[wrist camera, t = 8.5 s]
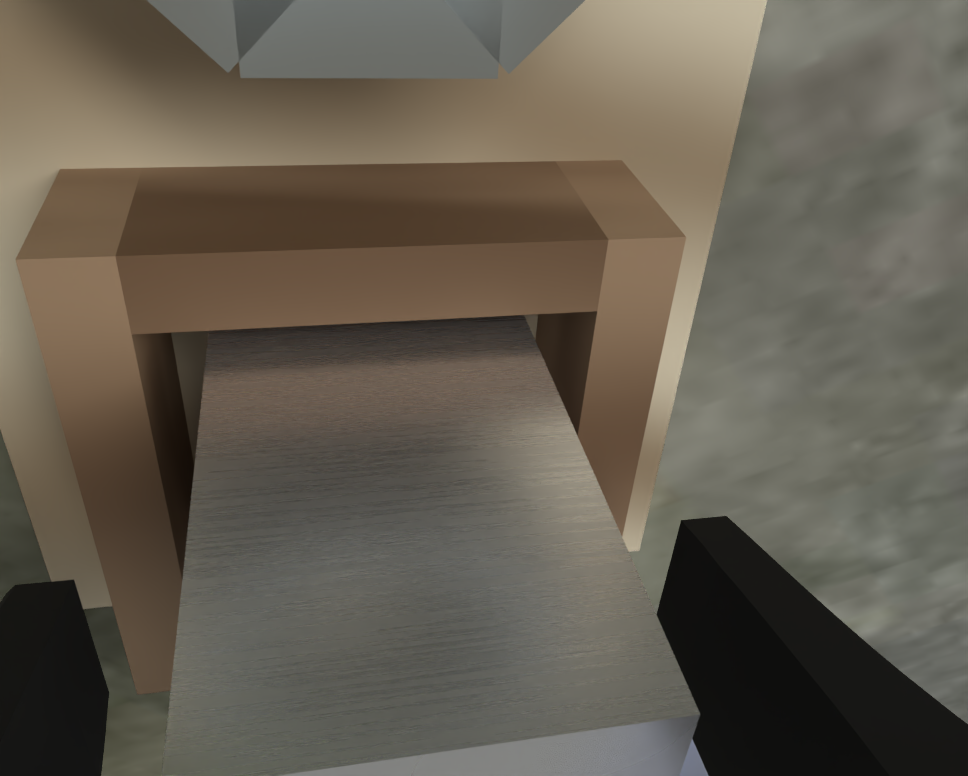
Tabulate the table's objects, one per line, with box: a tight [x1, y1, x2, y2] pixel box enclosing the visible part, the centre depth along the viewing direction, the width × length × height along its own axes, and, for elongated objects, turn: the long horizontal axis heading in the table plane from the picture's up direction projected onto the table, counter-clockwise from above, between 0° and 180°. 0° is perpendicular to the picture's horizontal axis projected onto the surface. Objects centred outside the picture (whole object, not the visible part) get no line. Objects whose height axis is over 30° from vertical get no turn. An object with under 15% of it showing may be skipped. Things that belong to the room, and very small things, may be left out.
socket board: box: [0, 0, 767, 695], centre depth 11 cm, size 18×11×4 cm, turn 176°
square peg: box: [162, 315, 700, 776], centre depth 11 cm, size 4×4×8 cm
